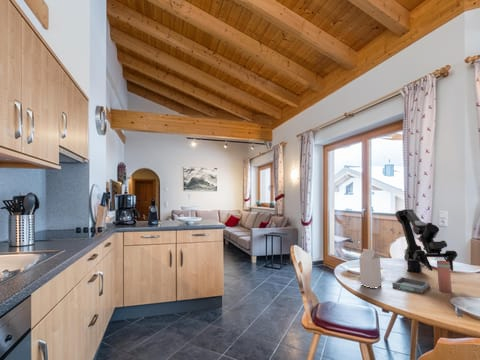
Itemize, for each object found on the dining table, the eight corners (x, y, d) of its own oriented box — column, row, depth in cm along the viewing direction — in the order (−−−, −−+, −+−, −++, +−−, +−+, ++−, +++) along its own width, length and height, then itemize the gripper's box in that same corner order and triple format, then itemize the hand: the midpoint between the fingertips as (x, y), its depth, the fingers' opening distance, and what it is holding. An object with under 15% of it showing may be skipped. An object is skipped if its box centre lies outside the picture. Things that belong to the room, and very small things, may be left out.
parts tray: (392, 287, 135) (392, 282, 135) (401, 281, 144) (400, 276, 144) (422, 294, 126) (421, 288, 126) (429, 287, 134) (429, 282, 135)
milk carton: (372, 289, 133) (370, 251, 135) (360, 285, 140) (358, 249, 141) (381, 287, 137) (379, 250, 138) (369, 283, 143) (367, 247, 144)
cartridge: (437, 290, 130) (435, 261, 130) (440, 287, 133) (438, 259, 134) (450, 293, 126) (448, 263, 126) (452, 290, 129) (450, 261, 130)
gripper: (414, 235, 139) (426, 261, 128) (453, 234, 136) (470, 261, 124) (408, 247, 147) (419, 273, 135) (446, 247, 143) (460, 274, 132)
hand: (442, 270), depth 131 cm, fingers open, 9 cm apart
